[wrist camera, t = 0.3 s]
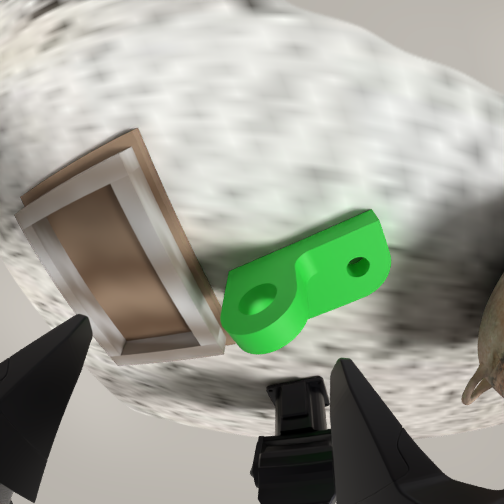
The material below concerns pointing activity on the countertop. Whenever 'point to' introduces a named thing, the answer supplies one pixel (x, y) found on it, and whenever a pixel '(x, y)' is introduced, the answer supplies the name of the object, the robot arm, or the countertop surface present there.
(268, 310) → the mechanical part
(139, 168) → the keyed nest
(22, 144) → the countertop surface
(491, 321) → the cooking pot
